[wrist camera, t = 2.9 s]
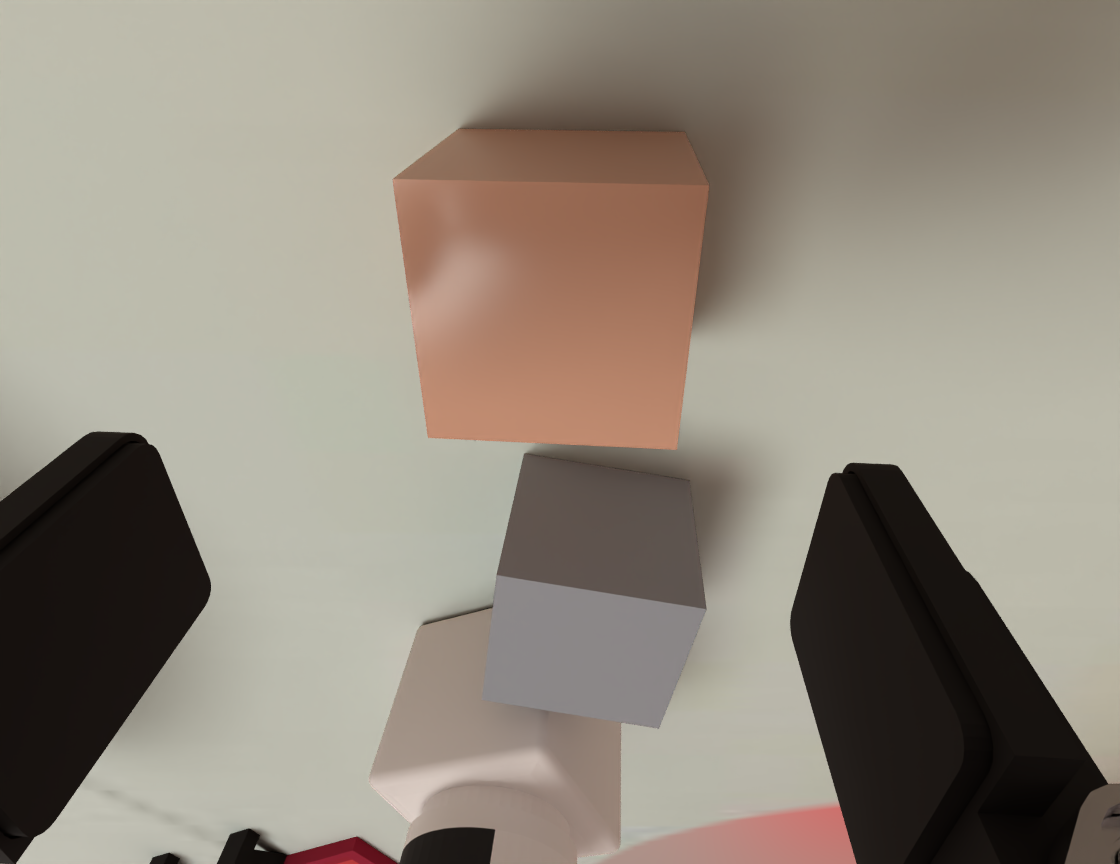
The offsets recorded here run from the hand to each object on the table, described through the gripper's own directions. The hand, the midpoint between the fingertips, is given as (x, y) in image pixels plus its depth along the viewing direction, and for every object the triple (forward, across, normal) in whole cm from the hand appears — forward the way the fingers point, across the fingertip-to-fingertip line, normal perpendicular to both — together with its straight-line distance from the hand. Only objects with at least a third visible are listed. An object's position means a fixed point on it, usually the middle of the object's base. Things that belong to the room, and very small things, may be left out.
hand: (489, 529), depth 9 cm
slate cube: (+12, -1, +10) cm, 16 cm away
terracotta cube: (+12, 0, -1) cm, 12 cm away
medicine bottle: (+12, +2, +18) cm, 22 cm away
